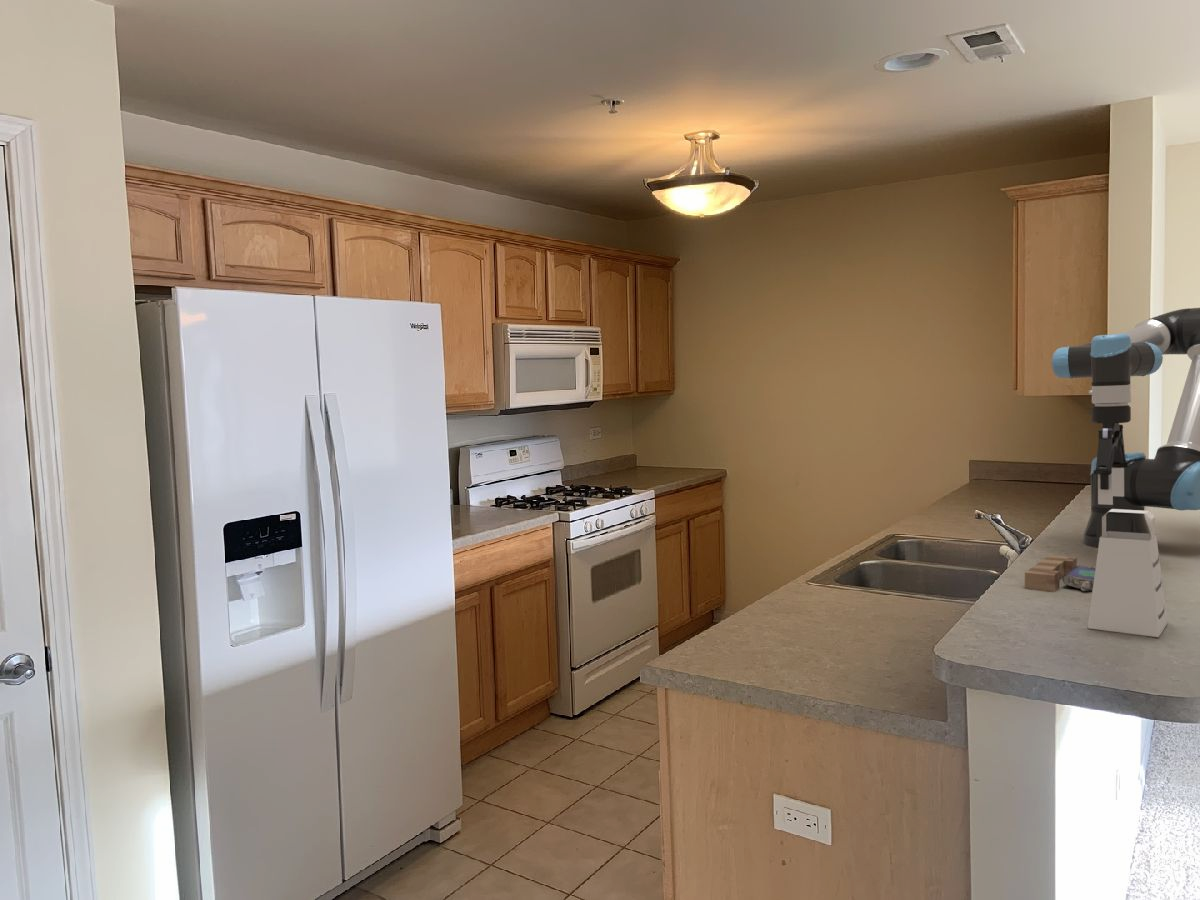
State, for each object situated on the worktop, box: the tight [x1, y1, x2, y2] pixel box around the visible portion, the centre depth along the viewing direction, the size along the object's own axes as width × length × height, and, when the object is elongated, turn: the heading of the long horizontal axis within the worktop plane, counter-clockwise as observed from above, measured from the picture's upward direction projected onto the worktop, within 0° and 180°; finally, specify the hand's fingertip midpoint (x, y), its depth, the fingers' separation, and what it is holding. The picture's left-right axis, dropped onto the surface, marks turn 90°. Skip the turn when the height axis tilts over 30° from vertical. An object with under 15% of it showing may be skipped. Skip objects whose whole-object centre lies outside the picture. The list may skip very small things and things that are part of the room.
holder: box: [1024, 555, 1078, 593], centre depth 184 cm, size 21×21×4 cm
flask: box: [1062, 564, 1096, 592], centre depth 181 cm, size 9×3×11 cm
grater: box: [1087, 509, 1168, 638], centre depth 153 cm, size 10×10×20 cm
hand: (1111, 500), depth 198 cm, fingers open, 13 cm apart
